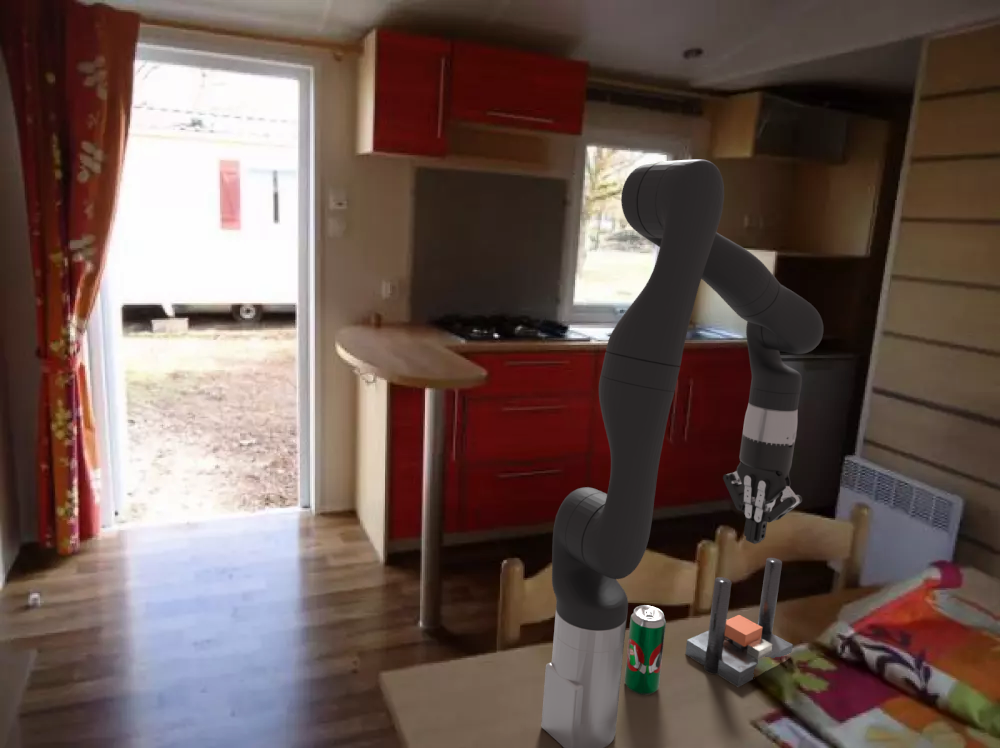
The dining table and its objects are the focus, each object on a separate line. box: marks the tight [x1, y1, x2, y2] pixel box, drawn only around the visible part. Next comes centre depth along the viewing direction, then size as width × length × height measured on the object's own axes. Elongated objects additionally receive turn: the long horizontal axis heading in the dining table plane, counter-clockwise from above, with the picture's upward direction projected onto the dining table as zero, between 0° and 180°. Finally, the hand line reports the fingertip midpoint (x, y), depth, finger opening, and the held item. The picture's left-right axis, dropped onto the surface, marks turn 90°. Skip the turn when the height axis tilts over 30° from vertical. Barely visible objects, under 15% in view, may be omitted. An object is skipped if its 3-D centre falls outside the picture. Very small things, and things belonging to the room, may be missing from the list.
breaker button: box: [725, 614, 763, 650], centre depth 115 cm, size 4×4×4 cm
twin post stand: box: [685, 557, 794, 688], centre depth 114 cm, size 16×10×15 cm, turn 126°
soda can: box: [624, 604, 667, 696], centre depth 105 cm, size 5×5×12 cm
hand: (753, 541), depth 111 cm, fingers closed
